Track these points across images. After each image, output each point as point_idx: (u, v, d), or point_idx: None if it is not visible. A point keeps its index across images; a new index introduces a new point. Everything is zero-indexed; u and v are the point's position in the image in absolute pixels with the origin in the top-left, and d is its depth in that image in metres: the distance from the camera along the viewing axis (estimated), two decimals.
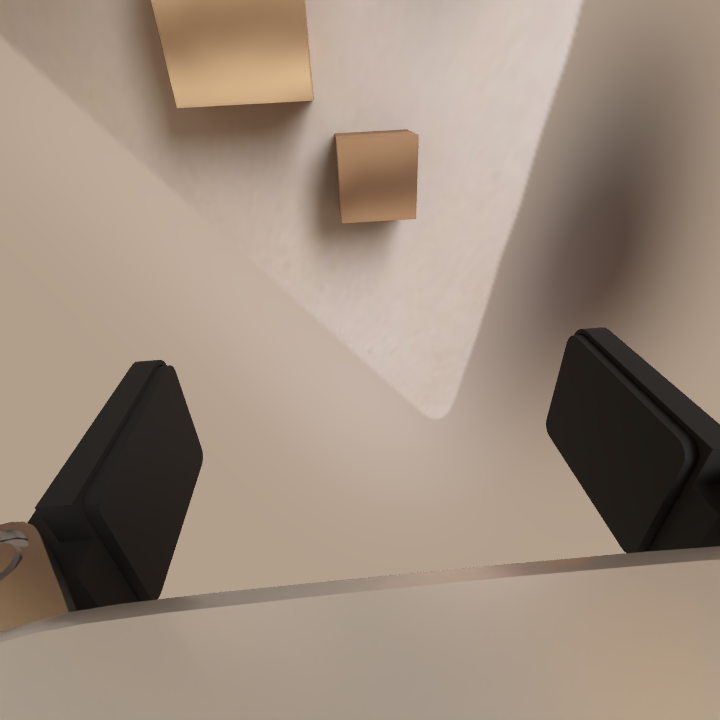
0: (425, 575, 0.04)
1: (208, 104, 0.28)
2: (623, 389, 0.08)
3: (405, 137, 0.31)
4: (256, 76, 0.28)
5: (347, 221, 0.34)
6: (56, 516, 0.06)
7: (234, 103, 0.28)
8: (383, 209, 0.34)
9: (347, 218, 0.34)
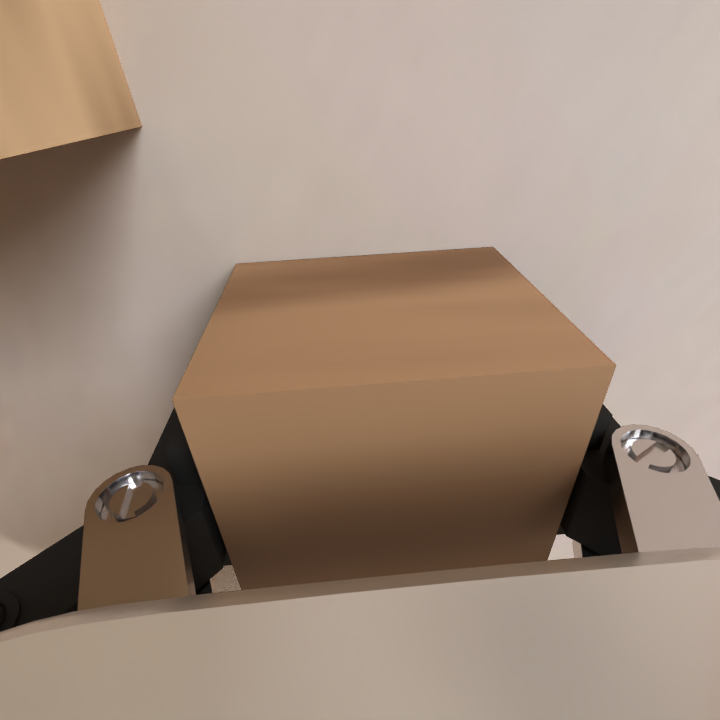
0: (425, 575, 0.04)
1: None
2: None
3: (546, 376, 0.06)
4: None
5: None
6: (181, 460, 0.07)
7: None
8: None
9: None
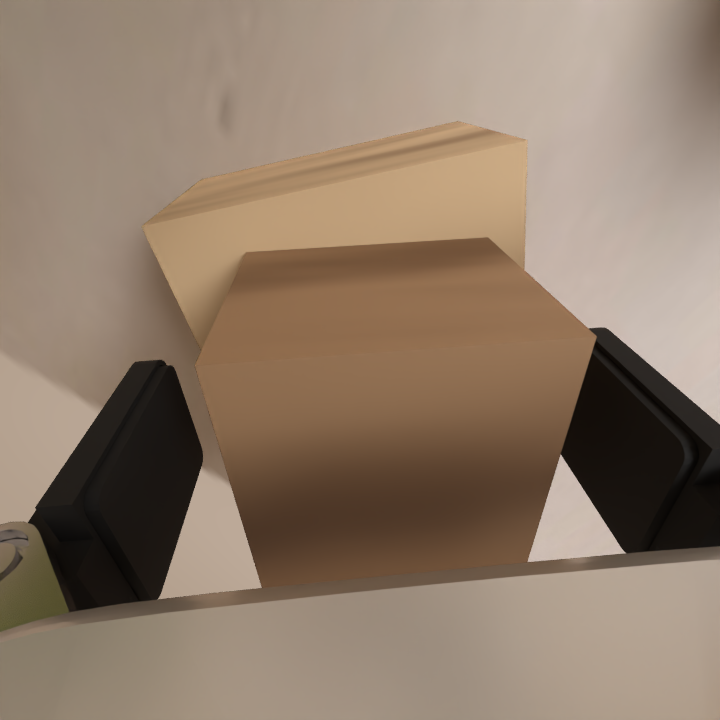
0: (426, 575, 0.04)
1: None
2: (623, 389, 0.08)
3: (533, 346, 0.06)
4: None
5: (282, 583, 0.09)
6: (56, 516, 0.06)
7: None
8: (412, 550, 0.09)
9: (281, 577, 0.09)
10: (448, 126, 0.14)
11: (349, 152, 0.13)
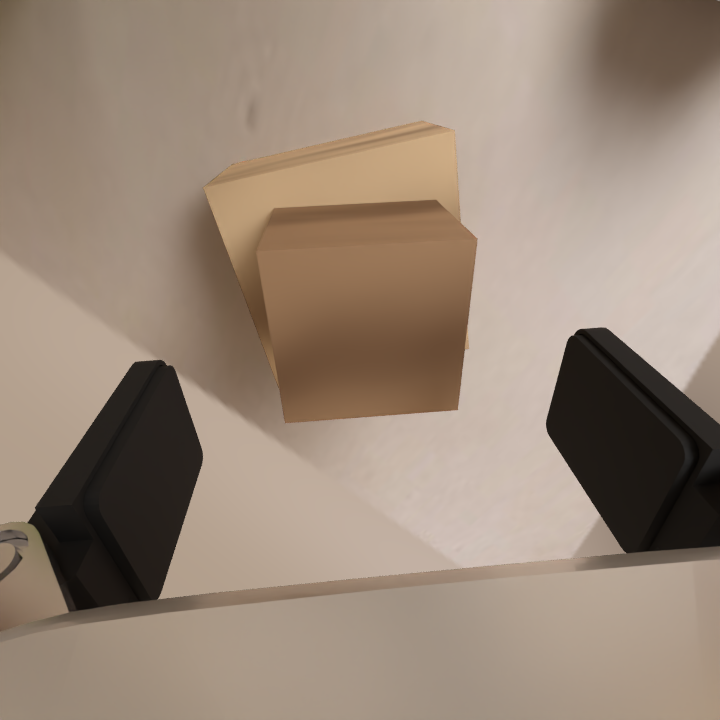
0: (425, 575, 0.04)
1: None
2: (623, 389, 0.08)
3: (442, 244, 0.12)
4: None
5: (298, 418, 0.14)
6: (56, 516, 0.06)
7: None
8: (381, 394, 0.14)
9: (297, 413, 0.14)
10: (413, 124, 0.19)
11: (341, 142, 0.18)
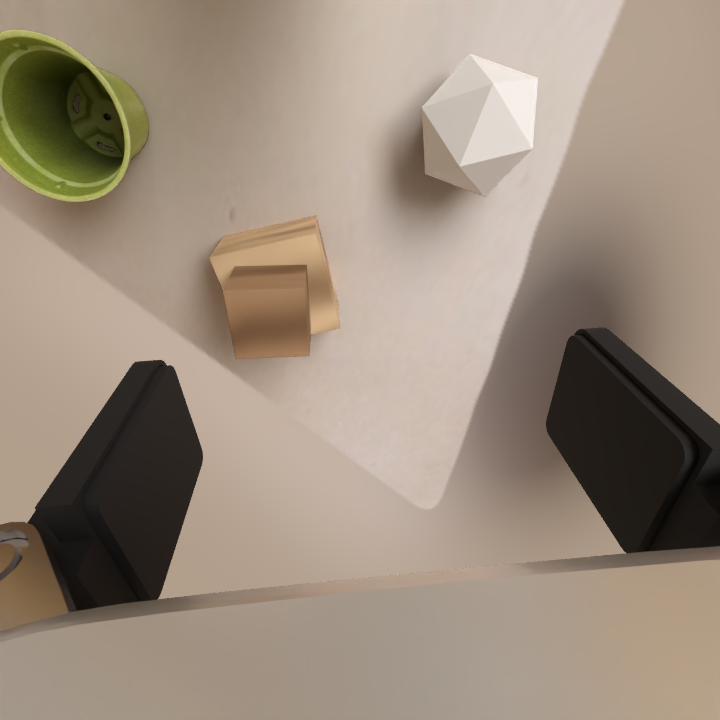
0: (425, 575, 0.04)
1: None
2: (623, 389, 0.08)
3: (291, 289, 0.32)
4: None
5: (241, 357, 0.34)
6: (56, 516, 0.06)
7: None
8: (275, 347, 0.34)
9: (240, 354, 0.34)
10: (310, 218, 0.39)
11: (274, 229, 0.38)
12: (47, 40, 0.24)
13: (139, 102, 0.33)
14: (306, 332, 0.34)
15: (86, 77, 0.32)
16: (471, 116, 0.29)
